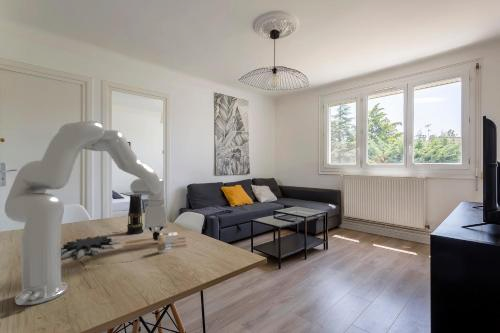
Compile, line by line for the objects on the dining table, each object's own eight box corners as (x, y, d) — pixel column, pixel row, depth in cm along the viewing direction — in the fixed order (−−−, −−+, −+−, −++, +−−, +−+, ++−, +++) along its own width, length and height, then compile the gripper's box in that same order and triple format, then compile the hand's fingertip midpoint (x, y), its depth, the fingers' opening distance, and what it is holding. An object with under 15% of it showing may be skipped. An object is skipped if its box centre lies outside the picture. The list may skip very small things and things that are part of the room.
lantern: (135, 235, 144) (135, 182, 143) (122, 233, 147) (122, 182, 146) (146, 231, 152) (146, 181, 152) (134, 230, 155) (133, 181, 155)
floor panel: (186, 249, 119) (186, 247, 119) (118, 256, 111) (118, 253, 111) (184, 237, 138) (184, 235, 138) (127, 242, 130) (127, 240, 130)
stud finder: (177, 242, 126) (177, 234, 126) (160, 244, 123) (160, 235, 123) (177, 239, 130) (177, 231, 130) (160, 241, 128) (160, 233, 128)
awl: (165, 256, 111) (165, 236, 111) (157, 256, 110) (157, 237, 110) (165, 253, 114) (165, 234, 114) (157, 254, 113) (157, 235, 113)
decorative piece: (88, 231, 138) (136, 234, 132) (88, 238, 138) (136, 242, 132) (29, 250, 109) (88, 255, 103) (30, 259, 109) (89, 264, 103)
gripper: (138, 205, 119) (138, 243, 119) (171, 203, 123) (171, 240, 123) (140, 202, 126) (140, 239, 126) (171, 201, 130) (172, 236, 131)
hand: (156, 240), depth 125 cm, fingers closed
